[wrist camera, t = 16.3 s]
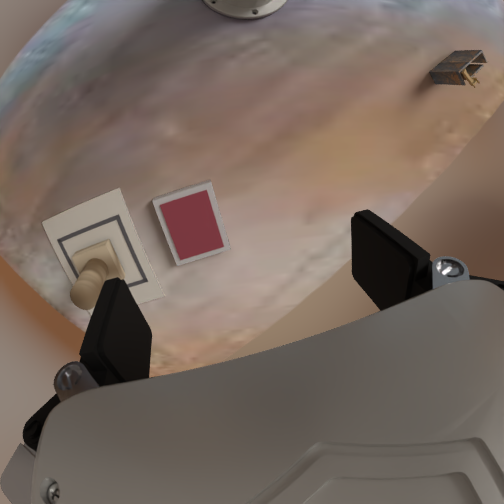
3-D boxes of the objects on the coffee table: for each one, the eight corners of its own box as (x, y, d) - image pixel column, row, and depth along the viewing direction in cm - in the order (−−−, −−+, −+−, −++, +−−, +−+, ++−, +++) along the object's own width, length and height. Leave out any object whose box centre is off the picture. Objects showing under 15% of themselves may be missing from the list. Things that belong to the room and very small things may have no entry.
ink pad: (153, 198, 36) (151, 201, 35) (210, 179, 37) (211, 182, 35) (177, 261, 41) (177, 266, 40) (229, 244, 42) (231, 250, 40)
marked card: (42, 221, 34) (41, 222, 33) (119, 187, 35) (119, 188, 34) (92, 316, 42) (92, 317, 42) (165, 295, 43) (165, 296, 43)
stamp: (77, 249, 36) (53, 283, 28) (109, 237, 37) (91, 270, 29) (94, 282, 39) (77, 321, 31) (126, 272, 40) (113, 311, 31)
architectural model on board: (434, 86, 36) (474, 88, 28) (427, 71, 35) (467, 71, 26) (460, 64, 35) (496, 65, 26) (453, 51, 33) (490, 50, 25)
